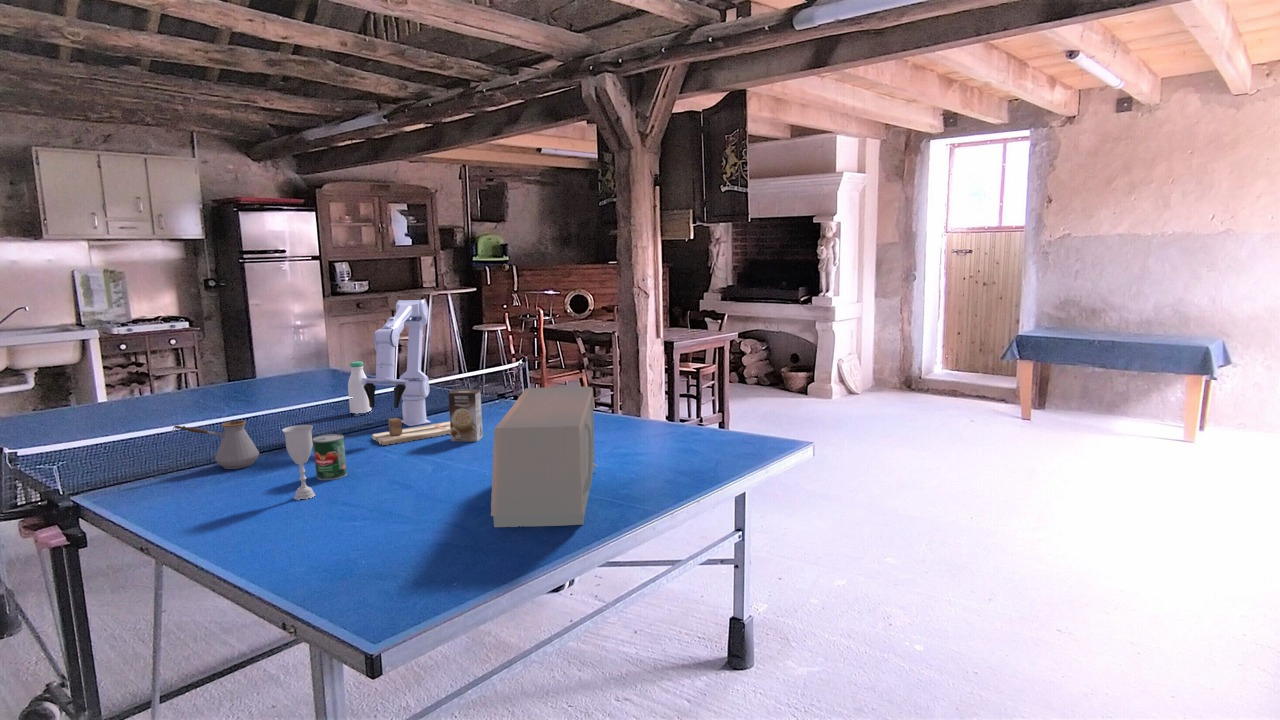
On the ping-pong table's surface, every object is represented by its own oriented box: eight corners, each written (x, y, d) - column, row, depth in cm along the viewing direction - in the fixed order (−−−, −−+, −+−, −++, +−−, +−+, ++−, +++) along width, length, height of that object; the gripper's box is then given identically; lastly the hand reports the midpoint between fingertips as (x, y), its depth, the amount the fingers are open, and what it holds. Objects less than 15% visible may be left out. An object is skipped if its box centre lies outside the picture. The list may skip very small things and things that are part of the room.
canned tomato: (347, 470, 212) (343, 432, 211) (347, 477, 205) (343, 439, 203) (317, 474, 210) (313, 436, 208) (315, 482, 202) (311, 442, 201)
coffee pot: (252, 457, 228) (247, 409, 226) (266, 464, 220) (260, 415, 218) (173, 474, 213) (166, 423, 211) (184, 482, 205) (177, 429, 203)
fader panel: (372, 438, 247) (372, 434, 246) (453, 424, 263) (452, 420, 263) (383, 446, 237) (383, 441, 237) (466, 431, 253) (466, 426, 253)
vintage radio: (522, 469, 208) (519, 387, 204) (603, 469, 207) (600, 386, 204) (484, 532, 164) (479, 427, 160) (587, 531, 163) (583, 426, 159)
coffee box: (450, 441, 240) (446, 393, 238) (456, 436, 246) (453, 389, 244) (477, 441, 239) (474, 392, 237) (483, 436, 245) (480, 388, 243)
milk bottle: (367, 415, 281) (362, 363, 278) (347, 416, 281) (342, 364, 278) (374, 411, 289) (370, 360, 286) (355, 411, 289) (350, 360, 286)
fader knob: (389, 433, 246) (388, 419, 245) (398, 431, 247) (397, 417, 247) (393, 435, 243) (392, 421, 242) (402, 434, 244) (401, 419, 244)
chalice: (299, 503, 185) (292, 433, 183) (283, 498, 189) (276, 429, 186) (325, 494, 192) (319, 426, 189) (309, 490, 195) (302, 423, 192)
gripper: (366, 363, 234) (364, 406, 232) (411, 365, 242) (410, 407, 241) (359, 365, 239) (358, 407, 238) (404, 367, 248) (403, 408, 246)
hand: (384, 407), depth 240 cm, fingers open, 7 cm apart
